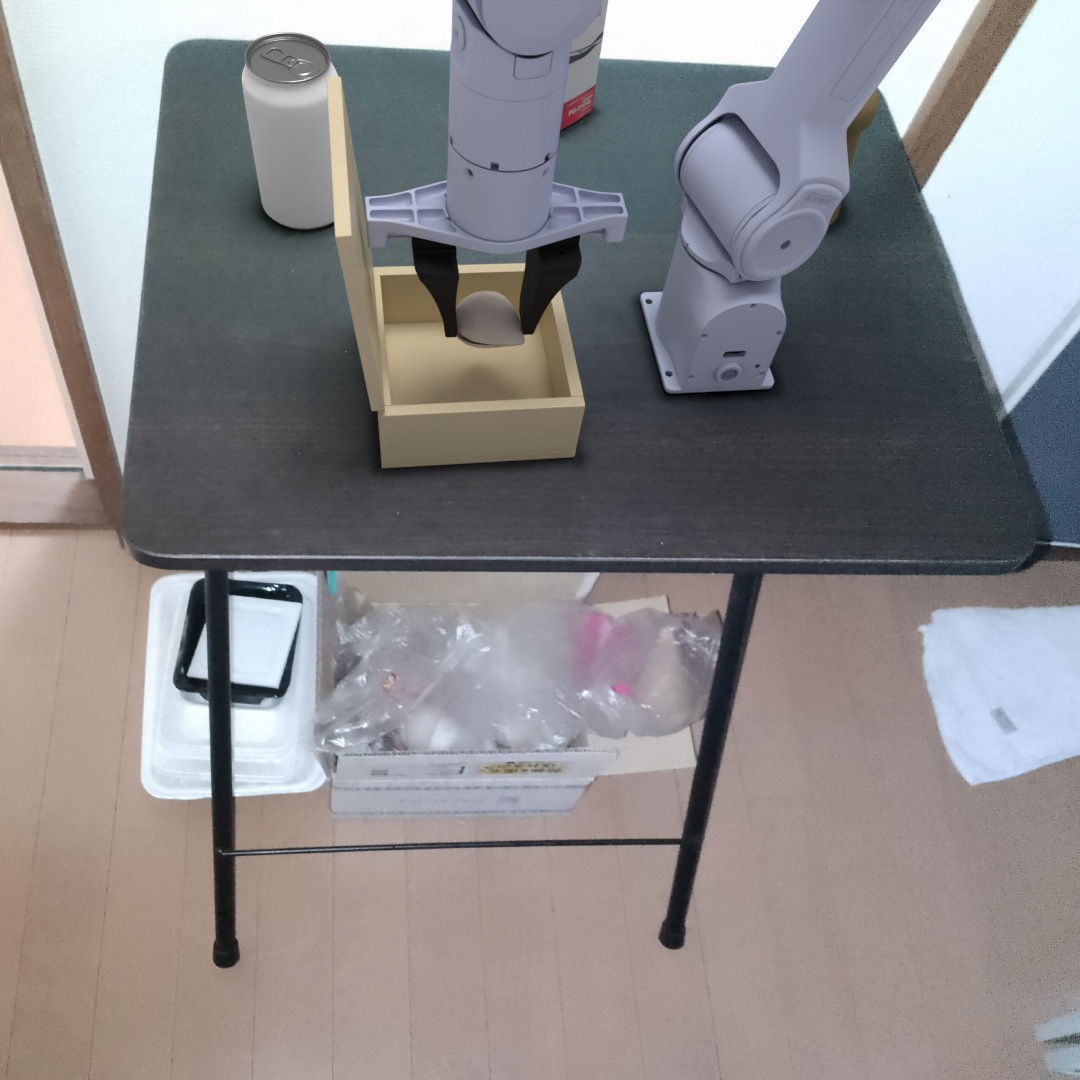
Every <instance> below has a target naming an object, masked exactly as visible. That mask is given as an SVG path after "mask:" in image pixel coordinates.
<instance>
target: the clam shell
mask: <svg viewBox="0 0 1080 1080" xmlns="http://www.w3.org/2000/svg"><path fill="white" fill-rule="evenodd" d="M456 317H457V338H458V339H459V340H461V341H462V342H463V343H465V344H466V345H469V346H473V347H476V348H499V347H508V346H518V345H522V344H524V343H525V337H524V335H523V330H522V325H521V321H520V319H519V316H518V314H517V312H516V310H515V308H514V307H513V305H512V304H511V303H510V301H509V300H508V299H507V298H506V297H505V296H503V295H501V294H499V293H497V292H493V291H480V292H475V293H473V294H471V295H469V296H468V297H466V298H463V299H462V300H461V301H460V303H459V304H458V305H457V307H456Z"/></svg>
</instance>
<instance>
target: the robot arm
mask: <svg viewBox="0 0 1080 1080" xmlns="http://www.w3.org/2000/svg"><path fill="white" fill-rule="evenodd" d="M941 1H942V0H818V2H817V3H816V5H814V8H813V9H812V11H811V12H810V14H809V16H808V17H807V19H806V20H805V22H804V23H803V25H802V26H801V28H800V30H799V31H798V33H796V36H795V37H794V39H793V41H792V42H791V43H790V45H789V47H787V50H786V51H785V53H784V54H783V56H782V57H781V59H780V60H779V61H778V63H777V65H776V67H775V68H774V70H773V71H772V73H771V74H770V76H769V77H768V78H766V79H763V80H755V81H748V82H742V83H741V82H740V83H735V84H732V85H730V86H729V87H728V88H727V90H726V91H725V92H724V95H723V96H722V98H721V99H720V101H719V102H718V104H717V105H716V106H715V107H714V108H713V110H712V111H711V112H710V113H709V114H708V115H707V116H705V117H704V118H703V119H702V120H701V121H700V122H699V123H697V124H696V125H695V126H694V127H693V128H692V129H691V130H690V131H689V132H688V133H687V134H686V135H685V137H684V138H683V140H682V142H681V143H680V144H679V147H678V149H677V151H676V153H675V157H674V160H673V166H672V169H673V170H672V171H673V177H674V180H675V182H676V184H677V185H678V188H680V190H682V191H683V192H684V195H683V199H682V202H681V205H680V210H681V213H682V221H681V224H680V227H679V231H678V235H677V239H676V241H675V246H674V249H673V253H672V255H671V261H670V264H669V267H668V270H667V274H666V279H665V281H664V286H663V289H662V291H645V292H642V293H641V294H640V298H639V302H640V305H641V309H642V314H643V316H644V320H645V324H646V328H647V331H648V334H649V338H650V342H651V346H652V350H653V353H654V356H655V360H656V364H657V368H658V371H659V375H660V379H661V382H662V386H663V389H664V391H665V392H666V393H668V394H688V393H689V394H690V393H691V394H692V393H708V392H709V393H710V392H711V393H713V392H731V391H732V392H733V391H751V390H770V389H772V388H773V386H774V384H775V379H774V376H773V373H772V371H771V368H770V366H771V364H772V362H773V360H774V358H775V355H776V353H777V350H778V348H779V346H780V343H781V342H782V338H783V337H784V335H785V332H786V328H787V316H786V312H785V308H784V304H783V300H782V292H781V291H782V290H781V285H782V277H784V276H785V275H788V274H789V273H791V272H793V271H794V270H796V269H797V268H800V266H802V265H803V264H804V263H806V261H808V260H809V259H810V258H811V256H812V255H813V254H814V253H815V252H816V250H817V249H818V248H819V247H820V245H821V243H822V241H823V240H824V237H825V236H826V233H827V231H828V229H829V226H830V225H829V223H830V220H831V217H832V215H833V213H834V211H835V209H836V208H837V206H838V205H839V203H840V202H841V201H842V202H843V200H844V198H845V197H846V196H847V195H848V193H849V192H850V189H851V188H850V187H851V183H850V181H851V180H850V173H849V165H848V153H847V140H846V132H847V128H848V127H849V125H850V124H851V123H852V121H853V120H854V118H855V117H856V116H857V114H858V113H859V112H860V110H861V109H862V108H863V106H864V105H865V103H866V102H867V101H868V99H869V98H870V97H871V95H872V94H873V93H874V91H875V90H876V88H877V89H878V87H879V86H880V84H881V83H882V82H883V81H884V79H885V78H886V77H887V75H888V74H889V72H890V71H891V70H892V68H893V67H894V66H895V65H896V63H897V61H898V60H899V59H900V57H901V56H902V55H903V53H904V52H905V50H906V49H908V47H909V45H910V44H911V42H912V41H913V39H914V38H915V37H916V35H917V34H918V33H919V31H920V30H921V29H922V28H923V26H924V25H925V23H926V22H927V20H928V19H929V18H930V16H931V15H932V14H933V13H934V11H935V10H936V8H937V7H938V6H939V4H940V3H941ZM602 2H603V0H452V4H451V5H452V7H451V41H450V47H449V48H450V50H449V76H448V77H449V79H448V80H449V82H448V83H449V85H448V120H447V121H448V122H447V124H448V125H447V133H448V134H447V138H448V139H447V164H446V165H447V168H446V180H441V181H438V182H434V183H431V184H426V185H423V186H419V187H415V188H411V189H408V190H404V191H399V192H395V193H391V194H390V193H389V194H384V195H372V196H371V195H369V196H365V197H364V212H365V219H366V227H367V239H368V247H369V248H371V249H373V248H375V249H376V248H386V247H388V245H389V240H410V241H411V251H412V259H413V266H414V267H415V271H416V273H417V275H418V278H419V280H420V281H421V282H422V283H423V284H424V286H425V287H426V288H427V290H428V291H429V292H430V294H431V295H432V297H433V299H434V301H435V303H436V305H437V307H438V309H439V311H440V314H441V317H442V320H443V324H444V332H445V337H447V338H451V337H457V317H456V297H457V289H458V282H459V271H458V265H459V264H458V258H457V255H458V253H457V252H458V251H457V247H458V248H461V249H462V248H463V249H467V250H470V251H471V250H472V251H476V252H480V253H484V254H485V253H486V254H492V255H513V254H518V253H522V252H523V253H524V252H525V262H524V263H525V271H524V276H523V282H522V287H521V293H520V302H519V314H520V320H521V325H522V330H523V335H532V334H534V332H535V329H536V327H537V325H538V323H539V321H540V319H541V317H542V315H543V313H544V311H545V310H546V308H547V307H548V305H549V303H550V302H551V301H552V299H553V298H554V297H555V295H556V294H557V293H558V292H559V291H560V290H562V289H563V288H564V287H565V286H567V284H569V282H571V281H572V280H574V279H575V278H577V277H578V274H579V272H580V270H581V266H582V261H583V256H582V252H581V251H582V250H581V247H580V243H581V236H602V239H603V241H604V242H606V243H622V242H624V236H625V231H626V227H627V223H628V219H629V214H628V210H627V207H626V204H625V199H624V196H623V193H622V192H605V191H596V190H591V189H588V188H587V189H585V188H581V187H578V186H577V187H576V186H572V185H568V184H563V183H559V182H554V179H555V172H556V163H557V158H558V157H557V156H558V148H559V141H560V134H561V131H560V127H561V119H562V112H563V104H564V97H565V89H566V82H567V74H568V67H569V58H570V50H571V42H572V40H574V39H576V38H578V37H580V36H581V35H582V34H583V33H584V32H585V30H586V29H587V28H588V27H589V25H590V24H591V23H592V21H593V20H594V18H595V16H596V15H597V13H598V11H599V9H600V7H601V4H602Z"/></svg>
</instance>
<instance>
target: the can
mask: <svg viewBox="0 0 1080 1080" xmlns="http://www.w3.org/2000/svg"><path fill="white" fill-rule="evenodd" d="M243 60H244V66H243V69H242V72H241V87H242V94H243V100H244V106H245V112H246V119H247V125H248V131H249V137H250V142H251V149H252V155H253V161H254V168H255V172H256V179H257V185H258V189H259V195H260V201H261V205H262V208H263V210H264V212H265V213H266V214H267V215H268V217H270V218H271V219H272V220H274V221H275V222H276V223H278V224H280V225H282V226H283V227H287V228H289V229H294V230H299V231H309V230H311V231H312V230H317V229H321V228H325V227H328V226H329V225H331V224H334V209H333V191H332V173H331V154H330V136H329V118H328V100H327V82H326V78H327V77H338V76H339V75H338V71H337V70H336V68H335V66H334V64H333V63H332V55H331V52H330V50H329V48H328V47H327V46H326V45H325V44H324V43H323V42H322V41H321V40H318V39H317V38H315V37H313V36H310V35H308V34H305V33H300V32H293V31H280V32H273V33H269V34H265V35H262V36H260V37H258V38H256V39H254V40H252V42H250V43H249V44H248V46H247V47H246V49H245V50H244V53H243Z"/></svg>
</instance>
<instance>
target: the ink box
mask: <svg viewBox="0 0 1080 1080" xmlns="http://www.w3.org/2000/svg"><path fill="white" fill-rule="evenodd" d="M608 4H609V0H603V2H602V4H601V7H600V9H599V11H598V13H597V15H596V16H595V18H594V20H593V21H592V23H591V24H590V25H589V27H588V28H587V29H586V30H585V32H584V33H583V34H582V35H581V36H580V37H578V38H576V39H574V40H572V42H571V50H570V58H569V67H568V74H567V82H566V89H565V97H564V104H563V112H562V119H561V127H560V132H561V131H562V130H564V129H566V128H567V127H569V126H571V125H573V124H574V123H576V122H578V121H579V120H581V119H583V118H584V117H585V116H587V115H588V114H590V113H592V112H593V105H594V99H595V92H596V86H597V78H598V72H599V65H600V58H601V53H602V45H603V39H604V32H605V26H606V19H607V11H608Z"/></svg>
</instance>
